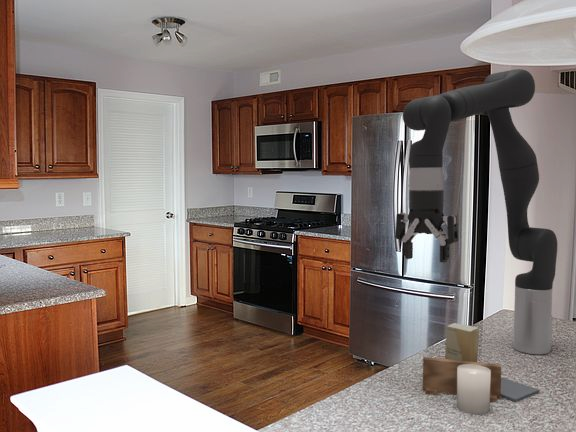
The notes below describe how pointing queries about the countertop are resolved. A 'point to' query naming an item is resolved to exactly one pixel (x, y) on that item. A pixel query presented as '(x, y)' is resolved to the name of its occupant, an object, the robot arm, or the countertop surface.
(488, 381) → the white pillar candle
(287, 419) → the countertop surface
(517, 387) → the slate mat
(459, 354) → the skincare box
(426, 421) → the countertop surface
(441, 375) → the walnut screen
